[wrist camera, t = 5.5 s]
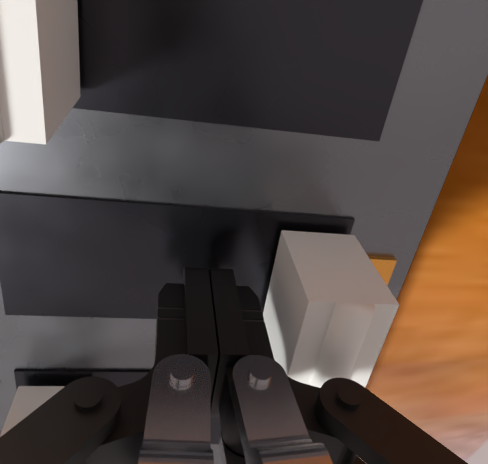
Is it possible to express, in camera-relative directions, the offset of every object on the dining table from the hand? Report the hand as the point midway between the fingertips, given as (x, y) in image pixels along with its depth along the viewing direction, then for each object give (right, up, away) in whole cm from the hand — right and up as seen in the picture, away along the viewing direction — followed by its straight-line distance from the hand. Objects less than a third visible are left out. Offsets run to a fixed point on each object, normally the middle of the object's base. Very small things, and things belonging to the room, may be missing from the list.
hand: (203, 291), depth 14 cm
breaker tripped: (+3, 0, +1) cm, 4 cm away
